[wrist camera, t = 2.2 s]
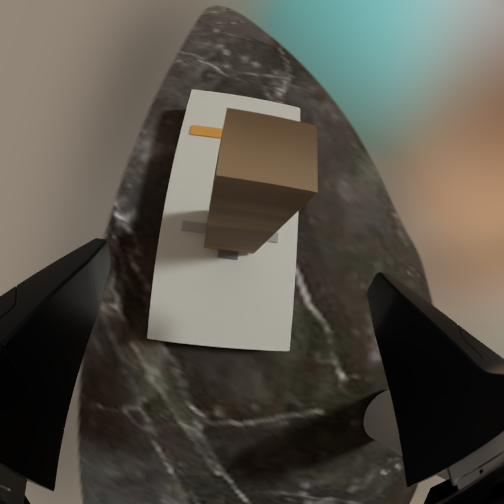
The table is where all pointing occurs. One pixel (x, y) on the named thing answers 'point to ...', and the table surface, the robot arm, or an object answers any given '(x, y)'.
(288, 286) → the fader console
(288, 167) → the lever
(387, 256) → the table surface
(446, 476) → the beverage can
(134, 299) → the table surface
